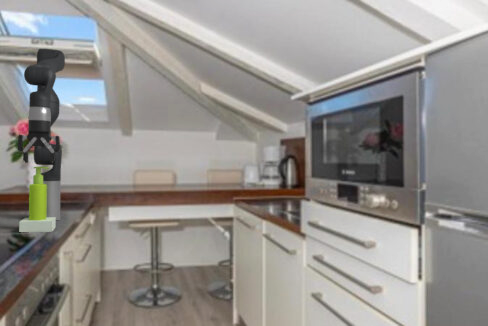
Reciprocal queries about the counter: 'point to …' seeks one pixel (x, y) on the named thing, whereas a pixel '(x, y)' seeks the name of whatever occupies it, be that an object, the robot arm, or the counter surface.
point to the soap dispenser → (38, 196)
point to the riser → (37, 225)
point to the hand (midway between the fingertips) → (39, 162)
